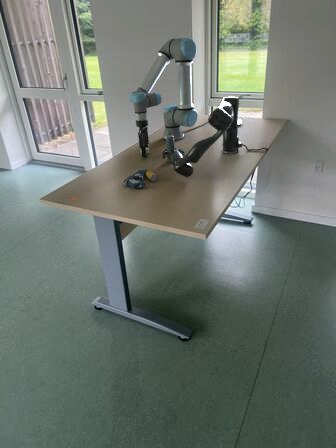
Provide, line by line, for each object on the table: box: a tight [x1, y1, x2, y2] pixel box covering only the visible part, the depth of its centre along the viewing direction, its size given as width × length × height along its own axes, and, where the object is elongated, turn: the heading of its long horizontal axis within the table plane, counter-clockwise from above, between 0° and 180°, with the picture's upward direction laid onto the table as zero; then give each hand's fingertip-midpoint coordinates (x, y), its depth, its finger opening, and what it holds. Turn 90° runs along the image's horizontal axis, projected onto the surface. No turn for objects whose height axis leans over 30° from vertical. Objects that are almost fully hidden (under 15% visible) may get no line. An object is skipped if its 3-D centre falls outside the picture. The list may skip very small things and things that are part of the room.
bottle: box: [165, 135, 176, 163], centre depth 205 cm, size 5×5×15 cm
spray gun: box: [123, 167, 158, 189], centre depth 183 cm, size 21×4×15 cm
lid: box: [139, 147, 150, 155], centre depth 216 cm, size 6×6×2 cm
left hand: (145, 155), depth 218 cm, fingers closed on lid, 6 cm apart
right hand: (170, 149), depth 208 cm, fingers closed on bottle, 5 cm apart
